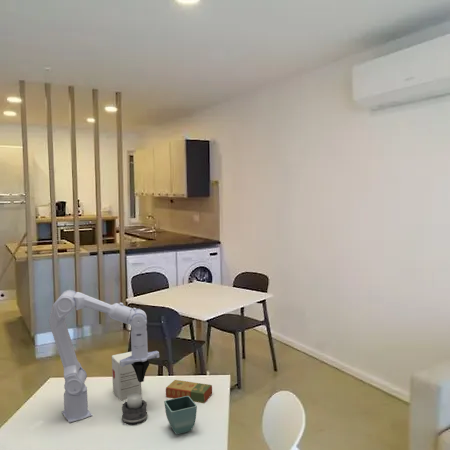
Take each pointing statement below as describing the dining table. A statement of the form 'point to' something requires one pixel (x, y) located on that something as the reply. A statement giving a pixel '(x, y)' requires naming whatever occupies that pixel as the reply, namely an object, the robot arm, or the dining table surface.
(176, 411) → the flower pot
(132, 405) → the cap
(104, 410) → the dining table surface
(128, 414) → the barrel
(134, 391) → the supplement box
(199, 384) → the carton
